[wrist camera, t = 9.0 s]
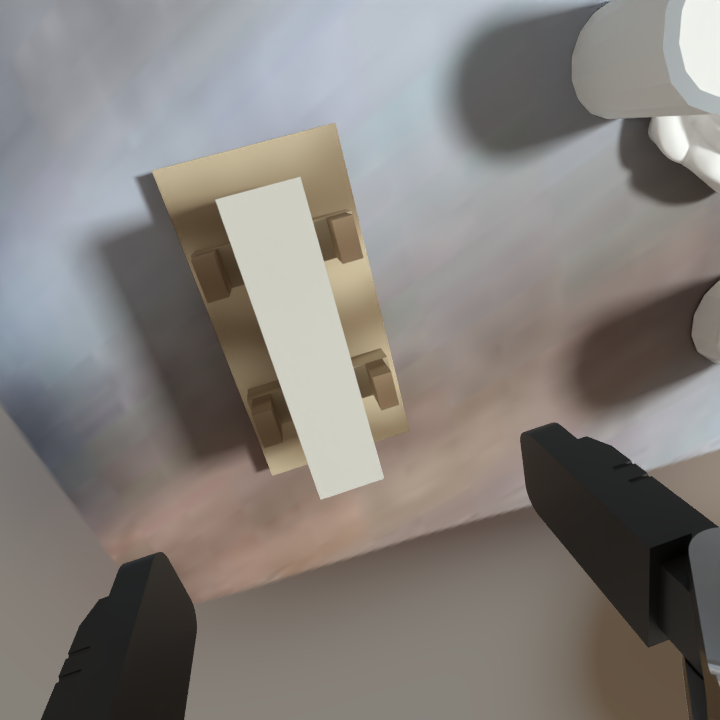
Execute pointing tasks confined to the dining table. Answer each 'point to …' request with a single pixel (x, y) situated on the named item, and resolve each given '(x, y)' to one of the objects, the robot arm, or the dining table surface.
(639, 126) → the dining table surface
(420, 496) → the dining table surface
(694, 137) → the rose
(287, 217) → the white rectangular block
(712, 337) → the white cup
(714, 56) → the white short tapered cylinder
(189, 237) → the rack
